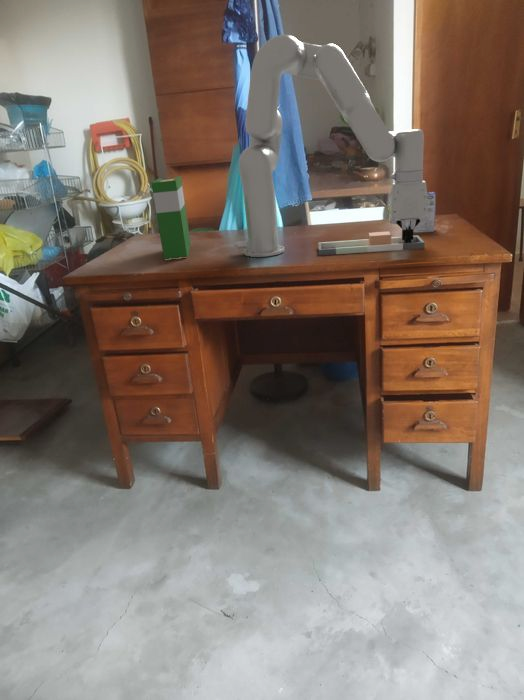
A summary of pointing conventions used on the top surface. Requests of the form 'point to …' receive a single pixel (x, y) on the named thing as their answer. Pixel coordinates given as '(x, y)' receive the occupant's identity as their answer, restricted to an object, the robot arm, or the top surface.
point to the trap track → (363, 246)
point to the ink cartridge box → (430, 222)
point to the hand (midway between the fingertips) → (407, 242)
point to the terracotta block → (379, 238)
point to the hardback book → (171, 217)
